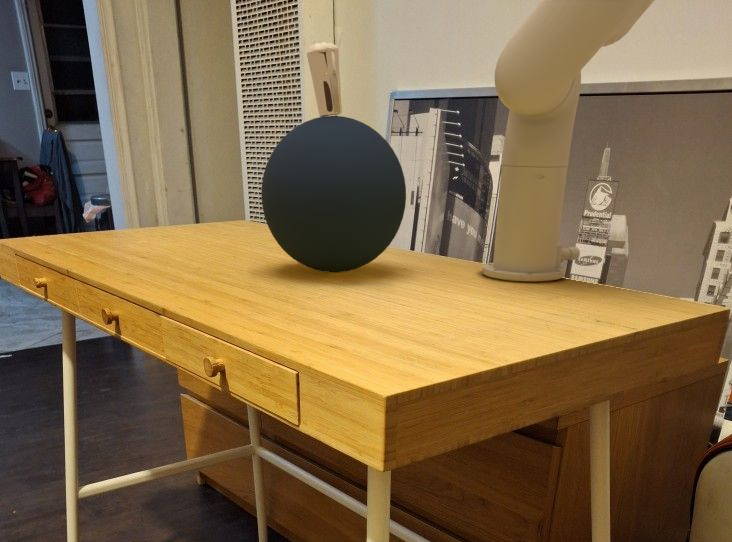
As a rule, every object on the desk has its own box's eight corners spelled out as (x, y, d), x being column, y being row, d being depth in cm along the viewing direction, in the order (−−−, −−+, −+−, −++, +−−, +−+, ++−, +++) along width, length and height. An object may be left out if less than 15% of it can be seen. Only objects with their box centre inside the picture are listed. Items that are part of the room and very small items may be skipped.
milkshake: (352, 111, 108) (343, 30, 103) (315, 117, 108) (304, 36, 103) (350, 112, 112) (341, 33, 107) (315, 117, 112) (304, 39, 107)
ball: (361, 257, 133) (363, 117, 123) (430, 277, 116) (438, 116, 106) (244, 266, 124) (235, 115, 114) (300, 289, 107) (296, 113, 97)
